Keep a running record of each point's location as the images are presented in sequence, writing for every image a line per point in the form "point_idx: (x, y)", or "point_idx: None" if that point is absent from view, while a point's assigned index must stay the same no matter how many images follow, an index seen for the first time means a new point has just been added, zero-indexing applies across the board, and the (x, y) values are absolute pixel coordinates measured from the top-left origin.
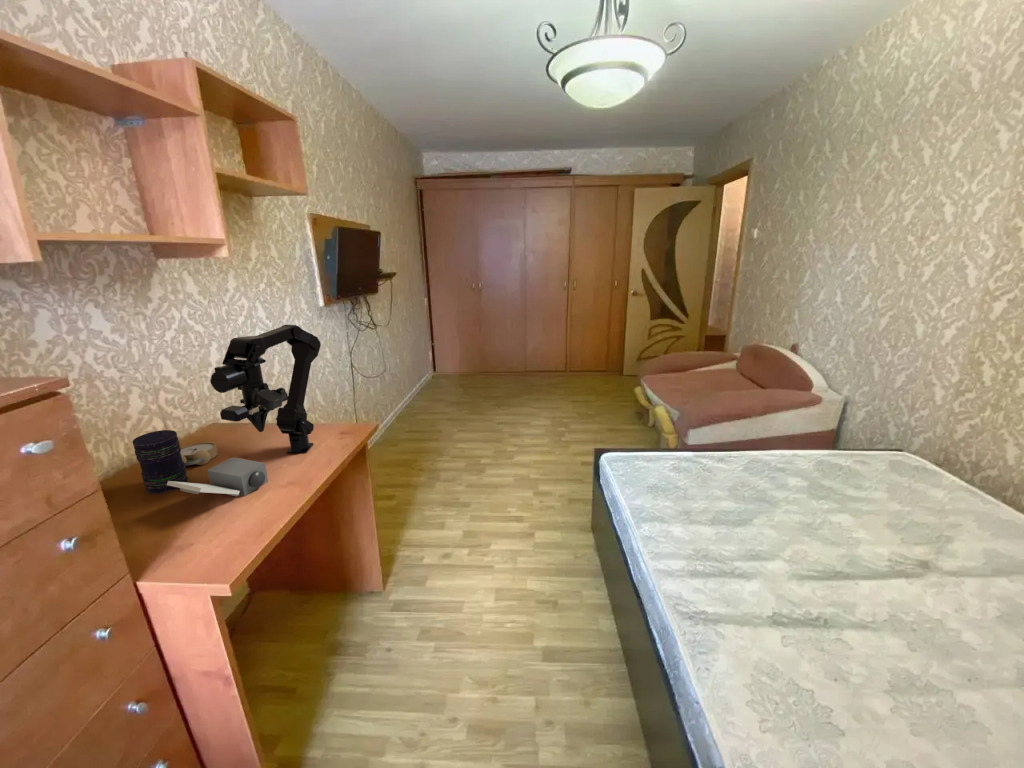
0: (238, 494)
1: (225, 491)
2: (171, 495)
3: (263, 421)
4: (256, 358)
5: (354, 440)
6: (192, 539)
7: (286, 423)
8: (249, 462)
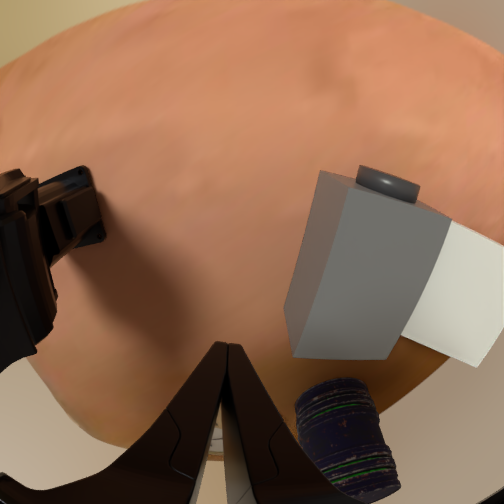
0: None
1: (472, 230)
2: (378, 367)
3: (208, 412)
4: None
5: (3, 76)
6: None
7: (22, 280)
8: (343, 265)
